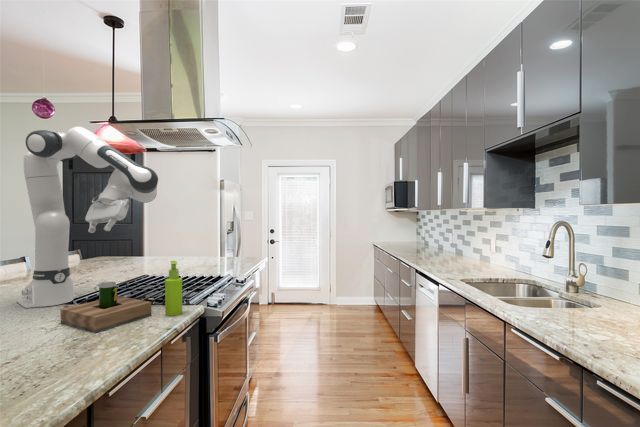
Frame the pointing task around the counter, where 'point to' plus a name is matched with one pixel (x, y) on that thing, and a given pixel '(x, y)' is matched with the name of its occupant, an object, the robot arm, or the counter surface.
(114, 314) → the socket board
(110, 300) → the beer can
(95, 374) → the counter surface
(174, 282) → the soap dispenser
